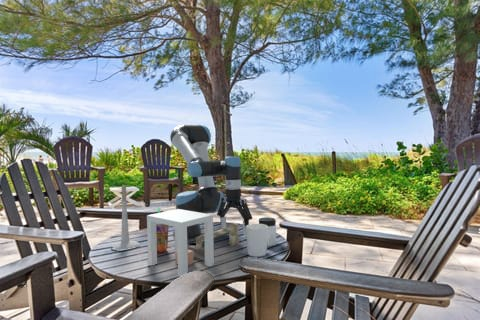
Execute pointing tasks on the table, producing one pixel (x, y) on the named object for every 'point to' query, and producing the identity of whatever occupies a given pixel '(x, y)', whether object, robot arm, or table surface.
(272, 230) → the jar
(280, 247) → the table surface
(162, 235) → the smoothie
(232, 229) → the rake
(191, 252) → the block
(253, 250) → the candle holder
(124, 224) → the candlestick
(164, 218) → the stool
